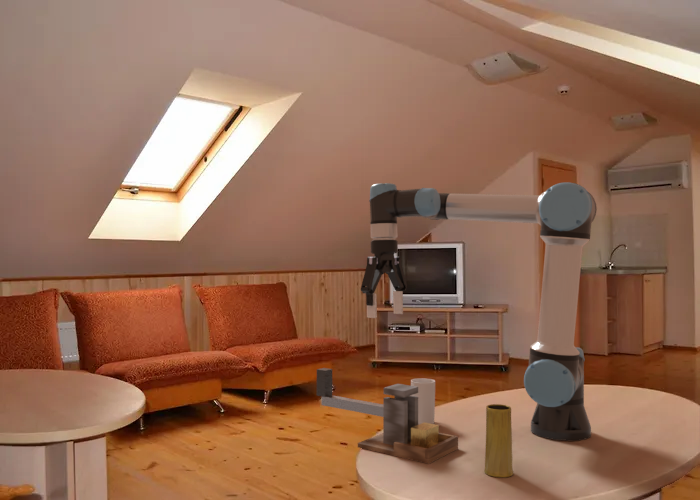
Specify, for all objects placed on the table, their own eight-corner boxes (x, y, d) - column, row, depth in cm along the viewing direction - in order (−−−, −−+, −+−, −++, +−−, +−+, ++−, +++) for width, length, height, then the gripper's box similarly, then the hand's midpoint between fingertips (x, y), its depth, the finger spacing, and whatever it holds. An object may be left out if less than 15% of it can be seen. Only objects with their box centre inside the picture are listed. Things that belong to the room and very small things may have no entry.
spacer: (424, 442, 156) (438, 445, 153) (411, 448, 151) (425, 451, 148) (424, 422, 156) (438, 425, 153) (411, 427, 151) (425, 430, 148)
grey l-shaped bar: (402, 417, 157) (403, 379, 157) (396, 419, 155) (396, 381, 155) (323, 402, 173) (323, 367, 173) (316, 404, 170) (316, 369, 171)
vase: (480, 468, 140) (480, 403, 140) (507, 467, 141) (507, 403, 141) (489, 478, 134) (489, 410, 134) (517, 477, 134) (517, 410, 135)
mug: (432, 428, 173) (432, 383, 173) (408, 425, 175) (408, 382, 175) (439, 419, 182) (439, 377, 182) (416, 417, 184) (416, 375, 184)
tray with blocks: (458, 448, 154) (458, 388, 154) (428, 463, 143) (429, 399, 143) (389, 434, 166) (389, 378, 166) (357, 447, 155) (357, 387, 155)
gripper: (396, 240, 189) (397, 311, 189) (346, 239, 169) (348, 319, 169) (418, 239, 185) (419, 312, 185) (370, 238, 165) (371, 320, 164)
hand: (385, 315), depth 177 cm, fingers open, 13 cm apart
